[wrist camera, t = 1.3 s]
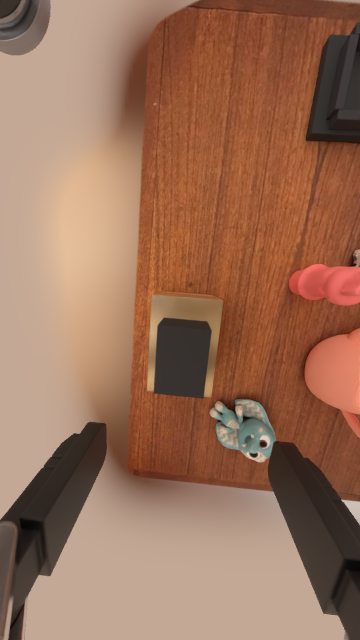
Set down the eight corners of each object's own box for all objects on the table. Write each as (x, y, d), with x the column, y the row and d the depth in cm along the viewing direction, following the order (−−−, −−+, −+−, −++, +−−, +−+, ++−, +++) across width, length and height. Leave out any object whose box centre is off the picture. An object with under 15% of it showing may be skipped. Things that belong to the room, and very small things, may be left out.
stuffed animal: (232, 396, 27) (305, 448, 25) (229, 377, 34) (286, 416, 32) (193, 445, 29) (258, 496, 27) (198, 417, 36) (250, 456, 34)
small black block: (163, 317, 20) (157, 325, 16) (207, 321, 20) (212, 330, 16) (159, 373, 22) (153, 393, 18) (201, 377, 21) (203, 398, 18)
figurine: (282, 299, 29) (379, 315, 14) (285, 266, 28) (393, 247, 13) (315, 299, 29) (448, 315, 14) (319, 265, 28) (468, 245, 13)
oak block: (164, 290, 30) (151, 294, 20) (212, 294, 29) (223, 300, 19) (159, 358, 32) (146, 390, 22) (204, 362, 32) (211, 397, 22)
